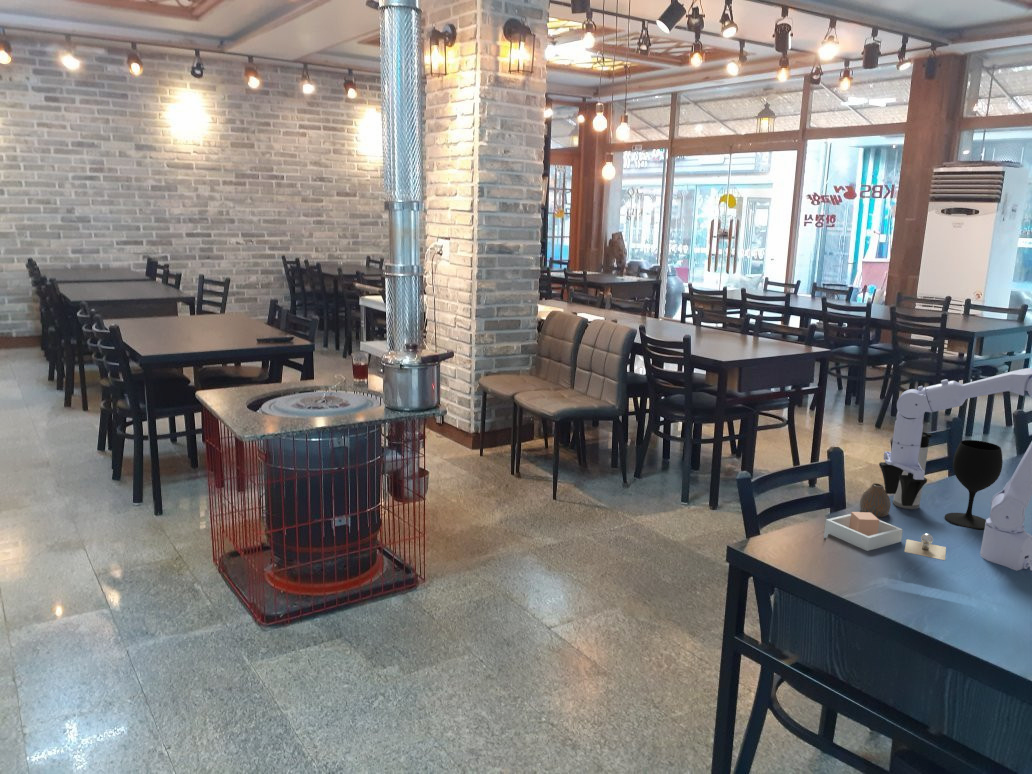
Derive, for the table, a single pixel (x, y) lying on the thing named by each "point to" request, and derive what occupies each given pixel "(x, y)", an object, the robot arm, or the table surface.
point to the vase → (875, 501)
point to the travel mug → (922, 463)
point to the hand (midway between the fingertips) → (898, 499)
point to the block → (864, 523)
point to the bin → (842, 531)
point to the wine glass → (975, 476)
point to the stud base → (925, 547)
